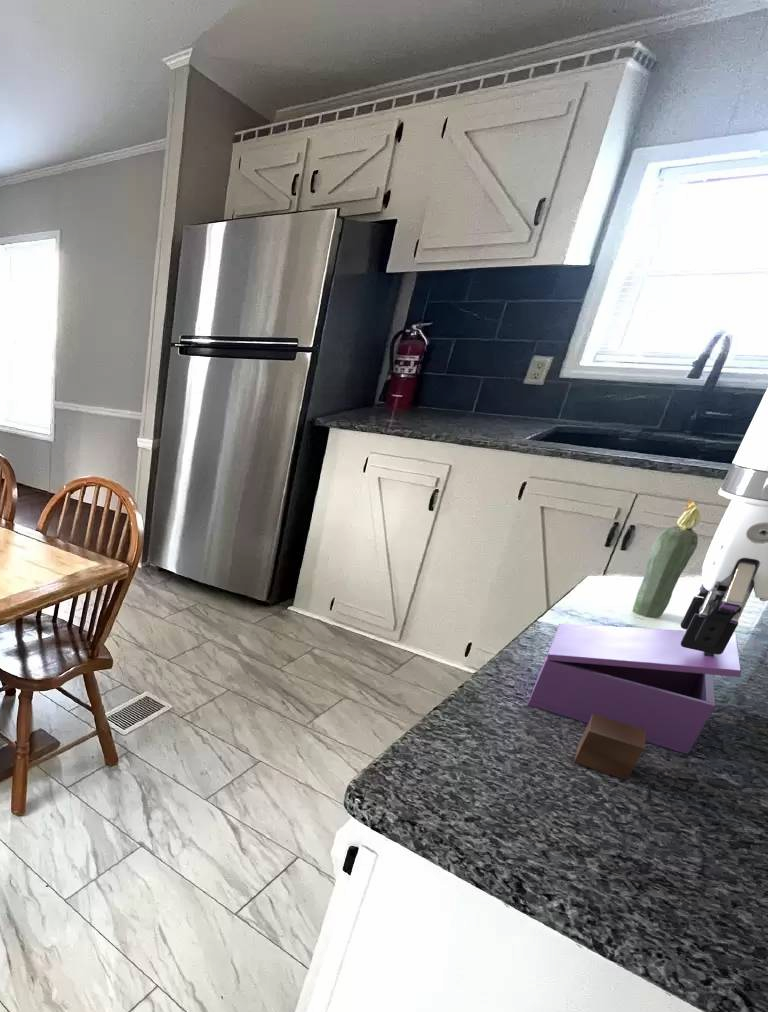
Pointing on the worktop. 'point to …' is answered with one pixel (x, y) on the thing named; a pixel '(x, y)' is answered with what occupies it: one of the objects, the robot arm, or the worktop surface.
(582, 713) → the document box
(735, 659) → the lid
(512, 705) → the worktop surface
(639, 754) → the block
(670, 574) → the vegetable
